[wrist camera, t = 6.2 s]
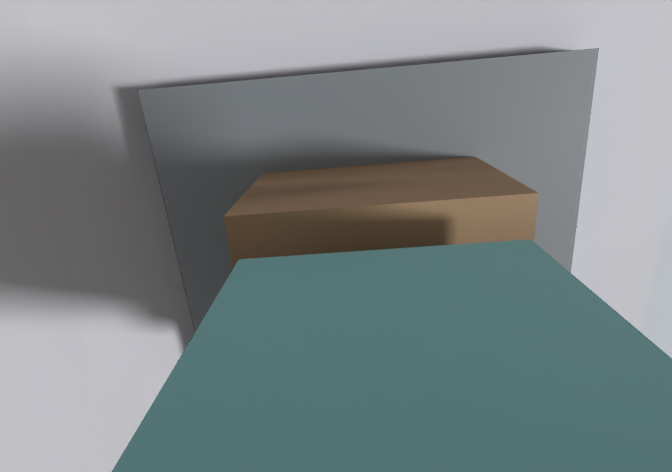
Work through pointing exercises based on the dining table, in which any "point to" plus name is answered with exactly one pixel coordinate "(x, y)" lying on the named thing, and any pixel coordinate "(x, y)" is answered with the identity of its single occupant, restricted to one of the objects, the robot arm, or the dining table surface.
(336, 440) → the teal cube
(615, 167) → the dining table surface
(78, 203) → the dining table surface
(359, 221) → the walnut base block
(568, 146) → the slate board
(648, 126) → the dining table surface
